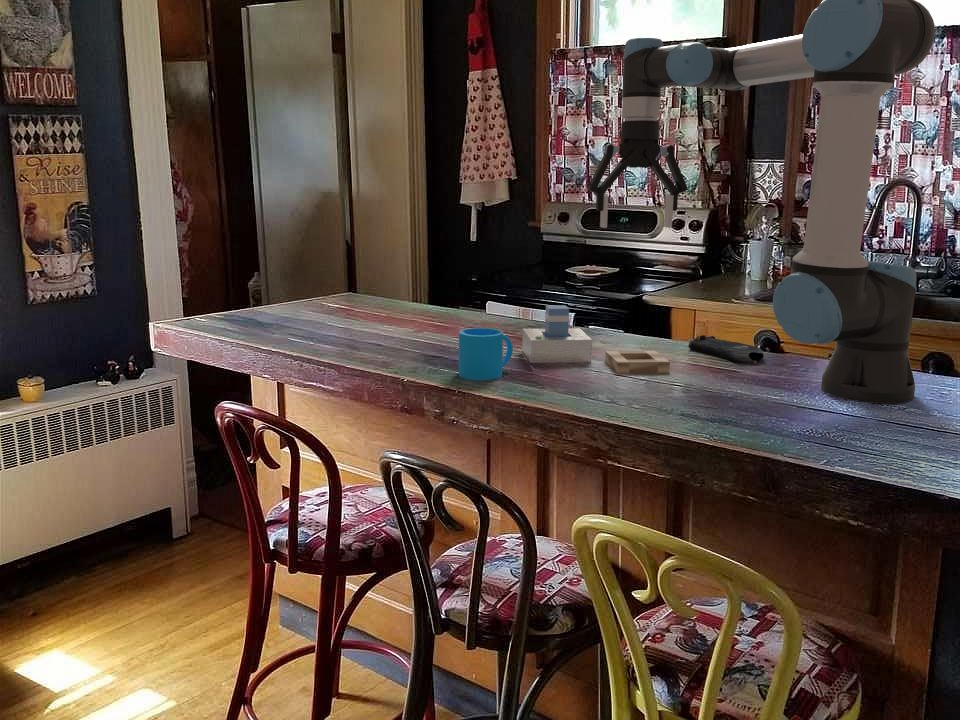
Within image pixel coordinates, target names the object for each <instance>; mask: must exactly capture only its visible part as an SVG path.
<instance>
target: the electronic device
mask: <svg viewBox="0 0 960 720" xmlns="http://www.w3.org/2000/svg"><path fill="white" fill-rule="evenodd" d="M687 347H688V348H689V349H690V351H694V352H699V353H702V354H706V355H710V356H714V357H715V356H716V357H719V358H722V359H724V360H725V359H726V360H727V361H728V362H730V363H731V362H732V363H736V362H737V363H739V364H756V363H758V362H761V361H762V360H763V359H764V357H765V353H764V351H763V350H762V349H761V348H760V347H758V346H755V345H750V344H745V343H743V342H738V341H730V340H727V339H719V338H716V336H714V335H712V336H706V335H704V334H702V335H699V336H697V337H694V338H691V339H690V340H689V342H688V346H687ZM752 358H754V359H757V360H752ZM737 363H736V364H737Z"/></svg>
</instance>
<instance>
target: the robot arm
mask: <svg viewBox="0 0 960 720" xmlns="http://www.w3.org/2000/svg"><path fill="white" fill-rule="evenodd" d="M935 37H936V25H935V21H934V18H933V16H932V15H931V12H930V11H929V10H928V9H927V8H926V6H924V5H923V4H922V3H921V2H919V1H917V0H822V1H821V2H820V3H819V5H818V6H817V7H816V8H815V9H813V10H812V12H811V14H810V16H809V17H808V18H807V20H806V22H805V25H804V29H803V31H802V34H798V35H793V36H788V37H787V36H786V37H782V38H777V39H771V40H766V41H762V42H756V43H750V44H746V45H741V46H740V45H739V46H736V47H734V46H733V47H728V48H723V47H710V46H706V45H705V44H704V43H702V42H696V41H695V42H688V41H686V42H681V43H679V44H673V45H672V44H671V45H666V46H664V43H663V40H662V39H661V38H659V37H648V36H647V37H646V36H645V37H643V36H642V37H634V38H629V39H628V40H626V42H625V43H624V52H623V60H622V64H623V67H622V71H623V72H622V103H621V118H622V119H624V121H622V122H621V124H620V125H621V127H620V143H619V146H618V145H613V144H606V145H605V146H604V151H603V156H602V158H601V160H600V162H599V165H598V166H597V168H596V170H595V171H594V174H593V175H592V177H591V179H590V181H589V183H588V186H587V187H586V188H587V190H588V191H589V192H592V193H594V194H595V195H596V201H595V209H596V211H600V216H599V217H600V218H599V219H600V222H599V228H603V229H607V228H608V215H609V214H608V212H609V211H608V209H609V208H608V207H609V194H605V193H606V192H607V190H609V189H610V187H611V186H612V185H613V183H615V182H616V180H617V179H618V178H619V177H620V175H621V174H622V173H623V172H624V171H625V170H626V169H627V168H628V167H629V168H631V169H635V168H643V169H647V168H649V169H651V171H653V173H654V174H655V176H656V177H657V178H658V180H659V181H660V182H661V184H662V185H663V186H664V188H665V189H666V190H667V191H668V193H669V194H665V201H664V202H665V203H664V219H663V220H664V222H663V223H664V224H663V225H664V226H663V227H664V228H673V217H674V216H673V212H674V211H678V201H679V195H680V194H681V193H684V192H687V191H688V189H689V188H688V186H687V183H686V181H685V178H684V176H683V174H682V171H681V169H680V167H679V164H678V162H677V159H676V156H675V147H674V145H672V144H666V145H664V146H660V143H659V141H660V140H659V138H660V123H659V121H657V119H659V118H660V116H661V95H662V94H661V91H662V88H669V87H672V88H674V87H685V88H701V89H702V88H703V89H704V88H705V89H720V90H727V91H740V90H741V91H742V90H746V89H748V88H750V87H751V86H756V85H757V86H758V85H763V84H772V83H778V82H786V81H787V82H788V81H791V80H792V81H793V80H802V79H808V78H813V79H812V87H814V89H816V91H817V92H818V93H819V94H820V96H821V97H820V98H821V99H820V105H819V106H820V107H819V116H818V122H817V130H816V131H817V132H816V142H815V147H814V149H815V150H814V158H813V165H812V175H811V184H810V192H809V199H808V200H809V201H808V208H807V209H808V210H807V216H806V224H805V232H804V233H805V235H804V241H803V242H804V243H803V247H802V249H801V250H800V251H798V252H797V254H795V255H794V256H793V257H792V261H791V269H790V274H789V275H786V276H785V277H783V278H782V280H781V282H778V284H777V285H776V287H775V289H774V291H773V295H772V297H773V298H772V307H773V308H772V309H773V314H774V317H775V320H776V322H777V324H778V325H779V326H780V327H781V328H782V331H783V332H784V333H785V334H786V335H787V336H788V337H789V338H790V339H793V341H795V342H798V343H801V344H807V345H812V344H817V345H825V344H830V343H832V342H833V343H834V342H835V347H834V350H833V352H832V355H831V357H830V358H829V361H828V363H827V365H826V368H825V369H824V372H823V374H822V377H821V383H820V384H821V385H820V387H821V390H822V391H823V392H824V393H825V394H828V395H830V396H833V397H836V398H840V399H843V400H849V401H854V402H861V403H871V404H902V403H907V402H910V401H913V399H914V398H915V391H916V383H915V378H914V374H913V370H912V365H911V361H910V357H909V347H910V346H909V345H910V339H911V332H912V324H913V323H912V322H913V315H914V306H915V300H916V299H915V298H916V293H917V290H918V287H917V272H916V270H915V269H914V268H913V267H912V266H908V265H903V264H894V263H887V262H886V263H884V262H877V261H870V260H866V258H865V257H864V256H863V255H862V253H861V247H862V240H863V232H864V225H865V218H866V216H865V215H866V209H867V202H868V201H867V200H868V194H869V188H870V187H869V186H870V181H871V180H870V179H871V174H872V173H871V172H872V164H873V157H874V149H875V142H876V134H877V129H878V122H879V121H878V119H879V113H880V112H879V111H880V107H881V106H880V103H881V98H882V96H883V95H884V94H885V93H886V92H887V91H889V90H890V89H891V88H892V87H893V86H894V79H895V76H898V75H903V74H906V73H908V72H909V71H912V70H914V69H915V68H916V67H918V66H919V65H920V64H921V63H922V62H924V61H925V59H926V58H927V56H928V55H929V53H930V52H931V50H932V48H933V45H934V43H935V42H934V41H935V39H936V38H935ZM617 153H618V154H619V156H620V157H621V159H620V160H619V162H618V163H617V164H616V166H615V167H614V168H613V169H612V171H611V172H610V173H609V174H608V176H606V178H605V179H604V180H603V181H602V182H601V180H602V178H603V177H604V174H605V172H607V171H606V170H607V169H608V167H609V165H610V164H611V161H612V158H613V157H615V156H616V155H617ZM660 153H661V155H662V157H664V158H665V162H666V164H667V167H668V169H669V171H670V173H671V176H672V178H673V180H674V182H673V181H672V179H671V178H670V177H669V176H668V174H667V173H666V171H665V170H664V168H663V167H662V166H661V163H659V161H658V159H657V158H658V156H659V155H660ZM600 182H601V183H600Z"/></svg>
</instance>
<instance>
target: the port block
mask: <svg viewBox="0 0 960 720" xmlns="http://www.w3.org/2000/svg"><path fill="white" fill-rule="evenodd" d="M521 338H522V341H521V344H522V345H521V353H522V354H523V357H525V359H526V360H527V362H528V364H529V365H530V366H533V364H557V363H558V364H569V363H571V364H575V363H577V364H578V363H579V364H580V363H584V364H585V363H586V364H587V363H592V356H593V355H592V353H593V352H592V351H593V339H592V338H591V337H590V336H589V335H587V333H585V332H584V331H583V330H582V329H581V328H579V327H576V328H574V327H573V328H570V327H568V337H545V328H522V336H521Z"/></svg>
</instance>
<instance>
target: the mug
mask: <svg viewBox="0 0 960 720" xmlns="http://www.w3.org/2000/svg"><path fill="white" fill-rule="evenodd" d="M504 341H505V344H506V353H505V355H504V357H503V353H504V352H503V351H504V348H503V347H504ZM513 347H514V346H513V343H512V341H511V339H510V338H509V337H508V336H507V335H506V334H504V331H502V330H499V329H497V328H496V329H495V328H488V327H472V328H471V327H470V328H465V329H461V330H459V331H458V376H459V377H460V378H462V379H466V380H470V381H471V380H473V381H489V380H497V379H500V378H502V377H503V367H505V366H507V364H508V363H509V362H510V360H511V358H512V355H513Z"/></svg>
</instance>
